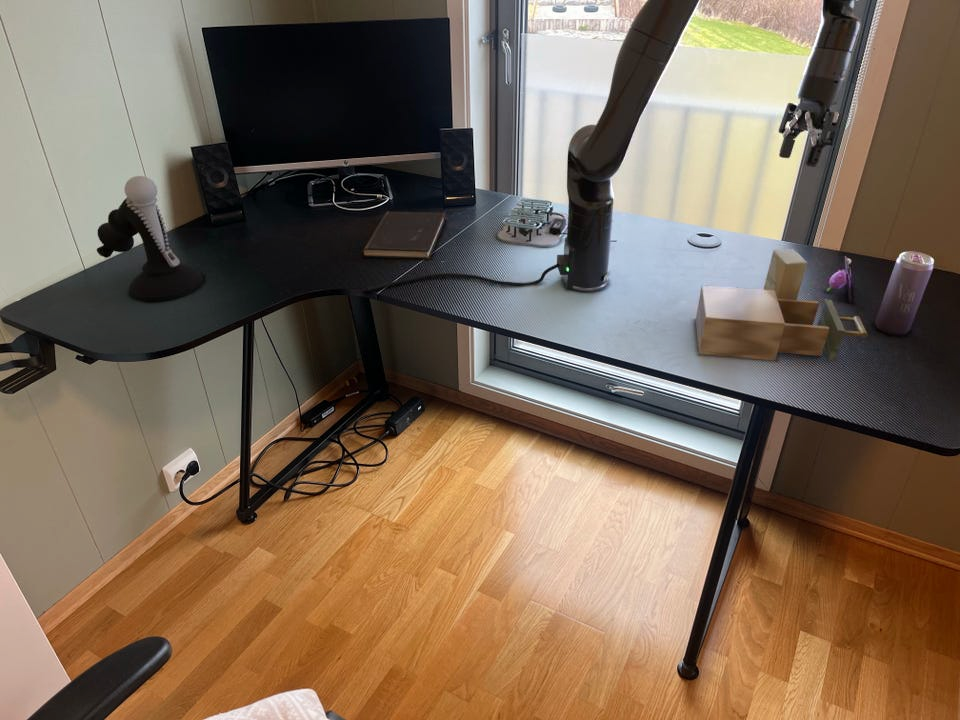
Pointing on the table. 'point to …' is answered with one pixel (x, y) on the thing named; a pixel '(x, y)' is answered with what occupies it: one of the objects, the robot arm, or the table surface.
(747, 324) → the cabinet
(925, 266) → the beverage can
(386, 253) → the hardcover book
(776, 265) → the cosmetic box
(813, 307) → the drawer
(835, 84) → the robot arm
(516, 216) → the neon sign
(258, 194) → the table surface
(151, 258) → the sculpture
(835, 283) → the purple figurine
